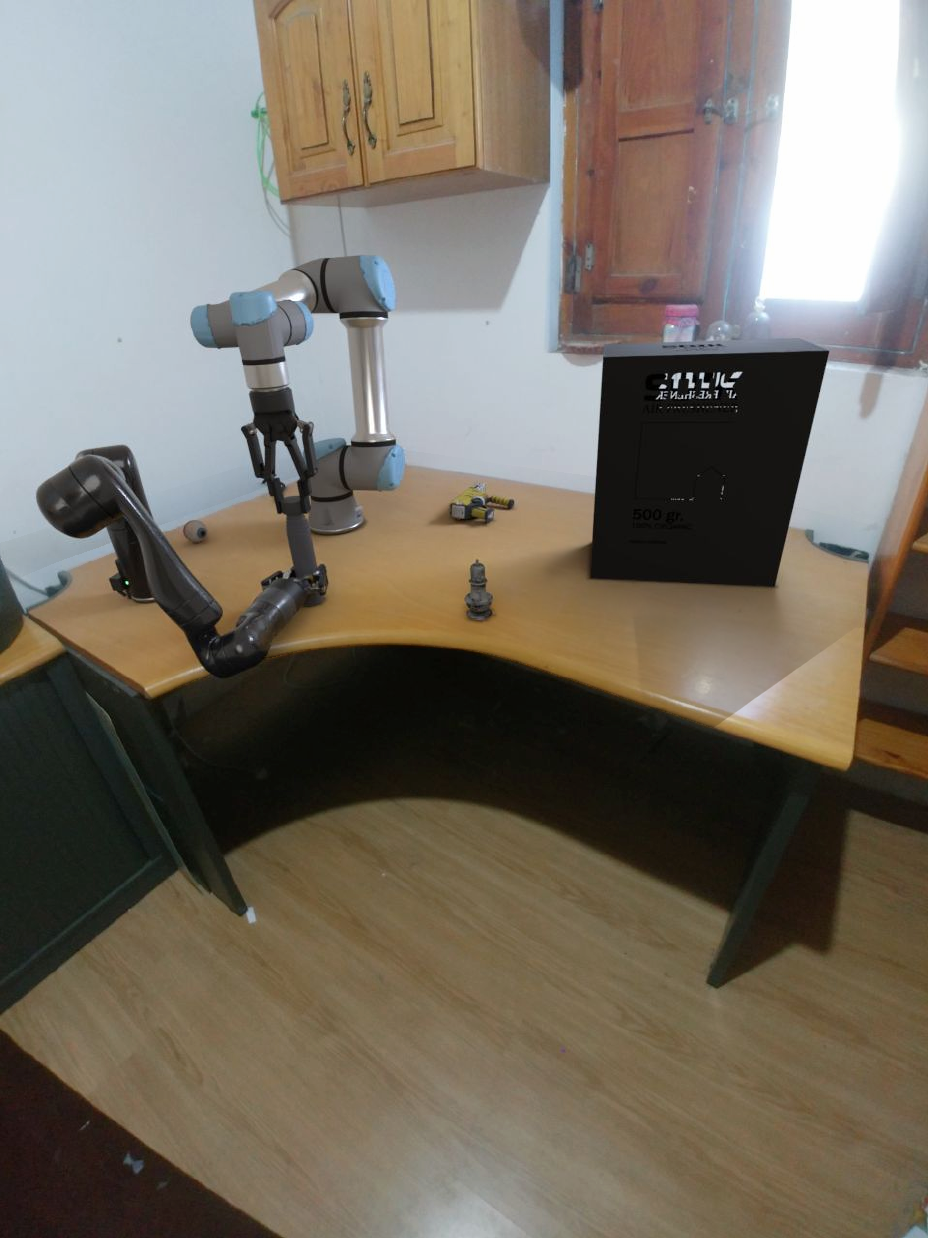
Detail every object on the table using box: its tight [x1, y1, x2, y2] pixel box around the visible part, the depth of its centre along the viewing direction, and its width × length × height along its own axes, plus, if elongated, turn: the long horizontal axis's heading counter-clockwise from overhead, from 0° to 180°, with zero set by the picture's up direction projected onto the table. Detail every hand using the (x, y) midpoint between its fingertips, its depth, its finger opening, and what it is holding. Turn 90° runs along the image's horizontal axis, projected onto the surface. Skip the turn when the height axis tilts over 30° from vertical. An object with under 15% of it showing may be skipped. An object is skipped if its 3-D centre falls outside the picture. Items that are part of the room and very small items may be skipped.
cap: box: [280, 495, 303, 516], centre depth 120 cm, size 5×5×2 cm
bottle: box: [285, 513, 324, 607], centre depth 125 cm, size 5×5×22 cm
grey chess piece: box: [463, 559, 494, 621], centre depth 118 cm, size 6×6×12 cm
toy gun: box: [448, 481, 515, 523], centre depth 173 cm, size 5×24×15 cm
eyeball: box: [182, 519, 208, 544], centre depth 162 cm, size 6×6×6 cm
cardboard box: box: [589, 337, 830, 587], centre depth 126 cm, size 38×20×45 cm, turn 78°
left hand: (311, 567), depth 129 cm, fingers closed on bottle, 4 cm apart
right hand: (294, 511), depth 120 cm, fingers closed on cap, 4 cm apart
